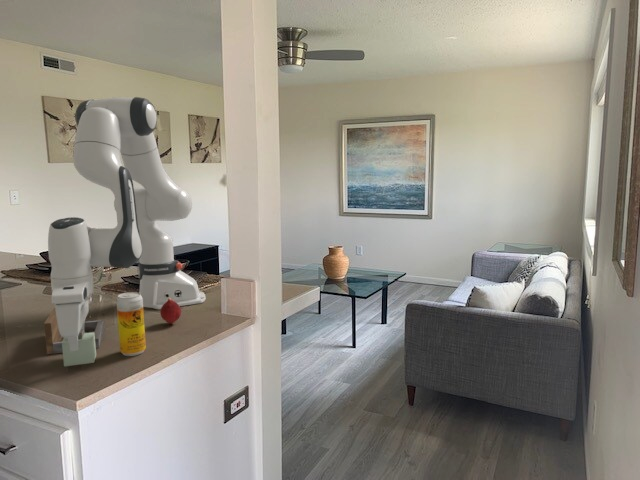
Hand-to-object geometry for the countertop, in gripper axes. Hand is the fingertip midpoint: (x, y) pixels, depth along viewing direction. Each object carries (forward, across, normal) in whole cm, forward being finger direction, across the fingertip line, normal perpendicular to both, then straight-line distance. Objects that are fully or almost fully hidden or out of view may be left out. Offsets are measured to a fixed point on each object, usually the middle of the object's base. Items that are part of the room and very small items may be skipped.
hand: (77, 342), depth 117 cm
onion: (+4, -20, +22) cm, 31 cm away
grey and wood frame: (+4, -16, -2) cm, 16 cm away
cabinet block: (+5, 0, 0) cm, 5 cm away
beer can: (+5, -2, +12) cm, 13 cm away
